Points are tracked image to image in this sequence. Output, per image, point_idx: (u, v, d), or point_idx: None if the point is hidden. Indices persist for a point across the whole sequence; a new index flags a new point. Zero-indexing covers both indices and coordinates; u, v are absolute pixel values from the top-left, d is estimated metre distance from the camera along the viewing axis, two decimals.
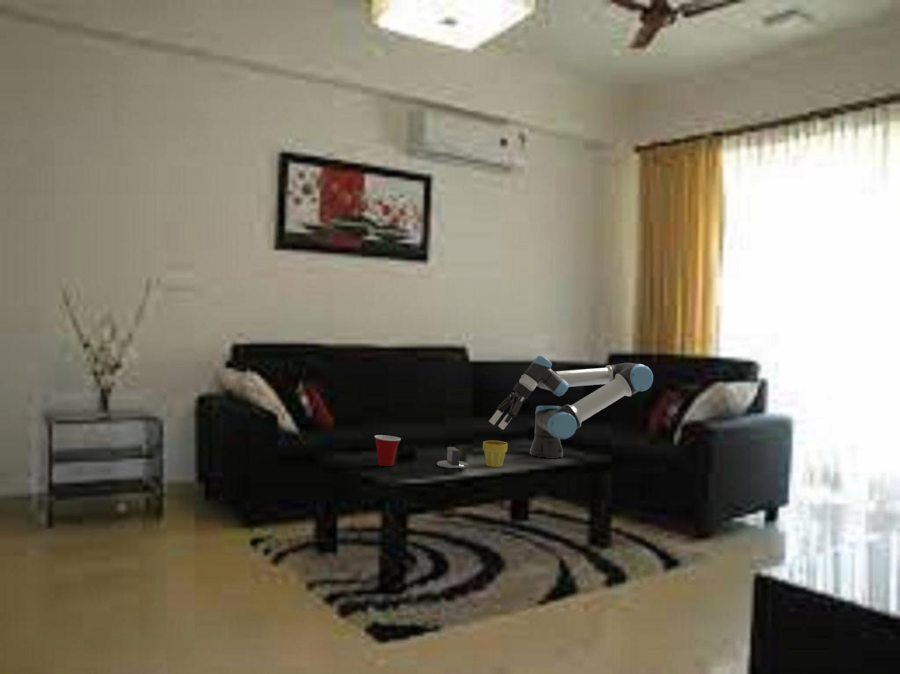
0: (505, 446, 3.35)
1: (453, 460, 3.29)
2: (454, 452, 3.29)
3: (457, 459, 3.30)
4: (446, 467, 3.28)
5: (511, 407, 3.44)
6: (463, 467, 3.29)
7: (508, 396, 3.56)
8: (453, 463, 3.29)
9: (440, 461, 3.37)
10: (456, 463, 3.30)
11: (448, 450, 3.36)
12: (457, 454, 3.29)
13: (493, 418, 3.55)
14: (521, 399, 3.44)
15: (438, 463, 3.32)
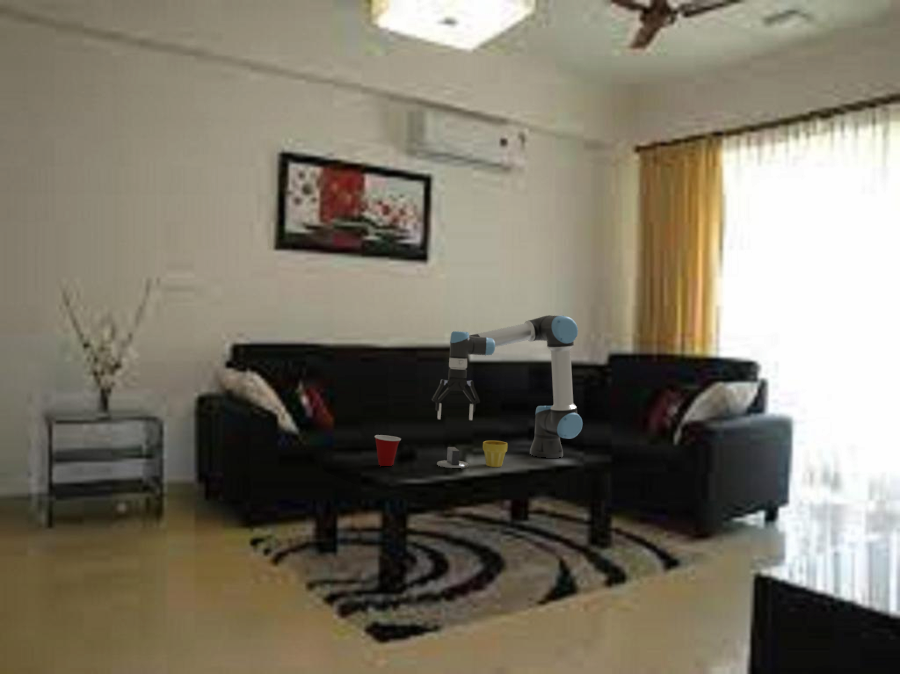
0: (505, 446, 3.35)
1: (453, 460, 3.29)
2: (454, 452, 3.29)
3: (457, 459, 3.30)
4: (446, 467, 3.28)
5: (470, 396, 3.33)
6: (463, 467, 3.29)
7: (442, 385, 3.31)
8: (453, 463, 3.29)
9: (440, 461, 3.37)
10: (456, 463, 3.30)
11: (448, 450, 3.36)
12: (457, 454, 3.29)
13: None
14: None
15: (438, 463, 3.32)
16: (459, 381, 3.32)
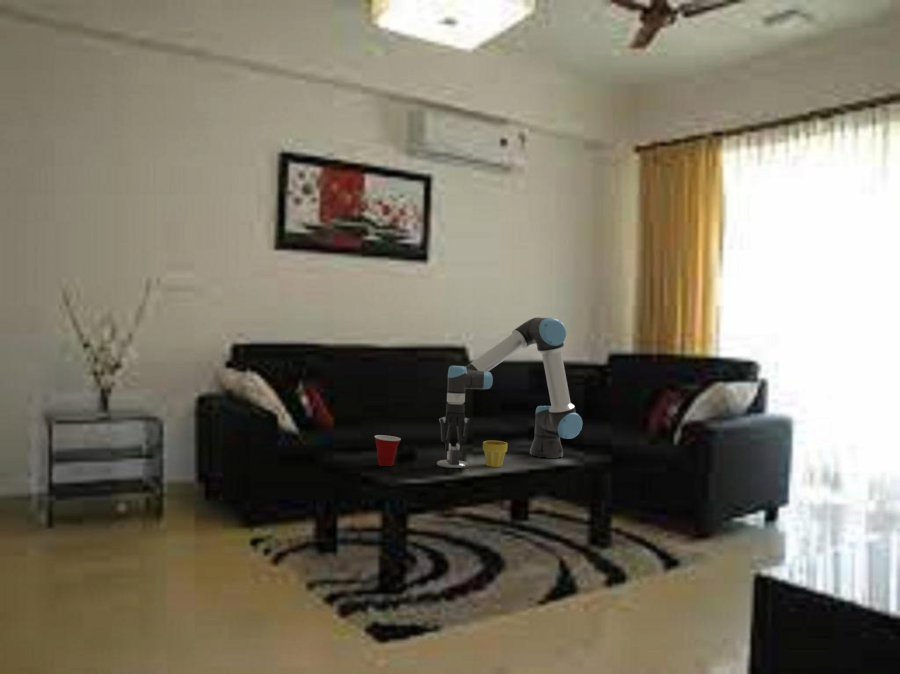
0: (505, 446, 3.35)
1: (453, 459, 3.29)
2: (454, 451, 3.29)
3: (457, 458, 3.30)
4: (446, 466, 3.28)
5: (460, 434, 3.33)
6: (463, 466, 3.29)
7: (442, 424, 3.31)
8: (453, 462, 3.29)
9: (440, 460, 3.36)
10: (456, 462, 3.30)
11: None
12: (457, 453, 3.29)
13: None
14: None
15: (438, 462, 3.32)
16: (458, 413, 3.32)
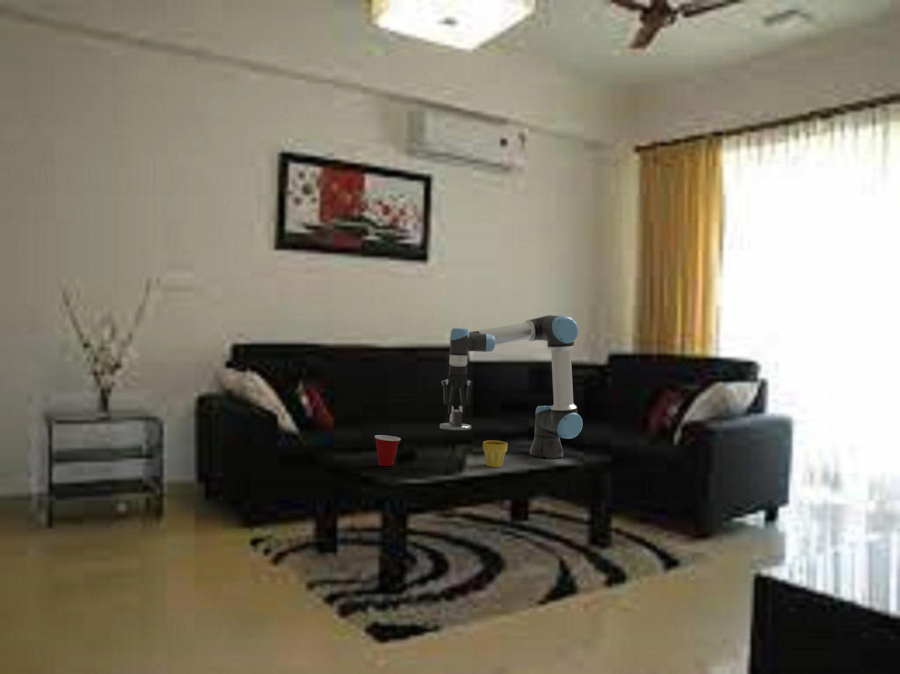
0: (505, 446, 3.35)
1: (456, 421, 3.29)
2: (457, 413, 3.29)
3: (460, 420, 3.29)
4: (449, 428, 3.28)
5: (463, 396, 3.33)
6: (466, 428, 3.29)
7: (445, 386, 3.31)
8: (456, 424, 3.29)
9: (443, 423, 3.36)
10: (459, 424, 3.29)
11: None
12: (460, 415, 3.29)
13: None
14: None
15: (441, 425, 3.32)
16: (461, 375, 3.32)
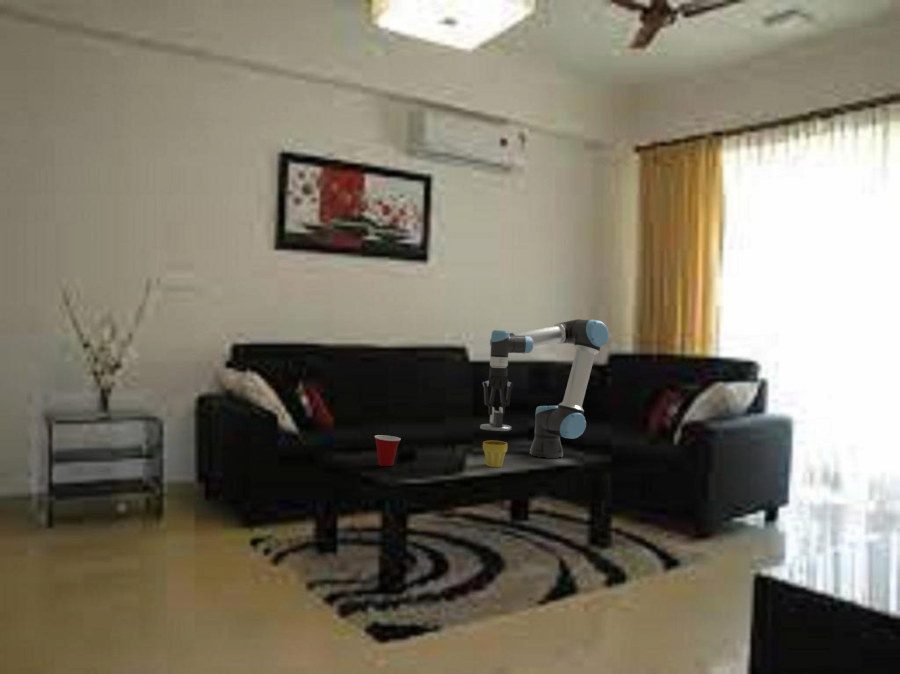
0: (505, 446, 3.35)
1: (497, 422, 3.33)
2: (498, 414, 3.33)
3: (501, 421, 3.33)
4: (490, 429, 3.32)
5: (503, 398, 3.37)
6: (507, 429, 3.33)
7: (486, 387, 3.35)
8: (497, 425, 3.33)
9: (483, 424, 3.40)
10: (500, 425, 3.33)
11: None
12: (501, 416, 3.33)
13: None
14: None
15: (482, 425, 3.36)
16: (502, 377, 3.36)
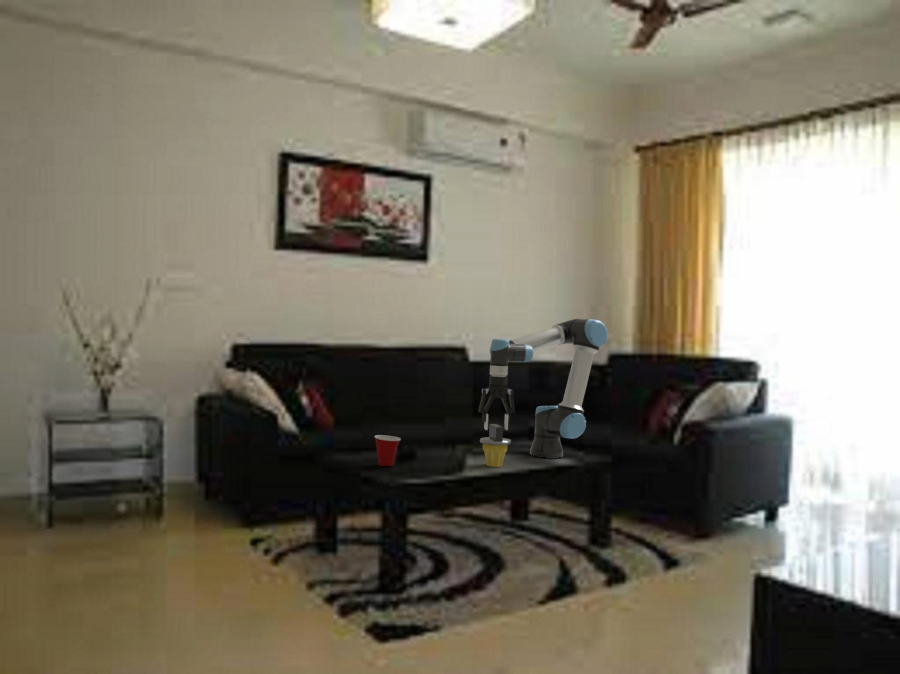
0: (505, 446, 3.35)
1: (497, 436, 3.33)
2: (498, 428, 3.33)
3: (501, 435, 3.33)
4: (490, 443, 3.32)
5: (507, 405, 3.37)
6: (507, 443, 3.33)
7: (484, 395, 3.35)
8: (497, 439, 3.33)
9: (482, 438, 3.40)
10: (500, 439, 3.33)
11: (490, 427, 3.40)
12: (501, 430, 3.33)
13: None
14: None
15: (481, 439, 3.35)
16: (501, 387, 3.36)
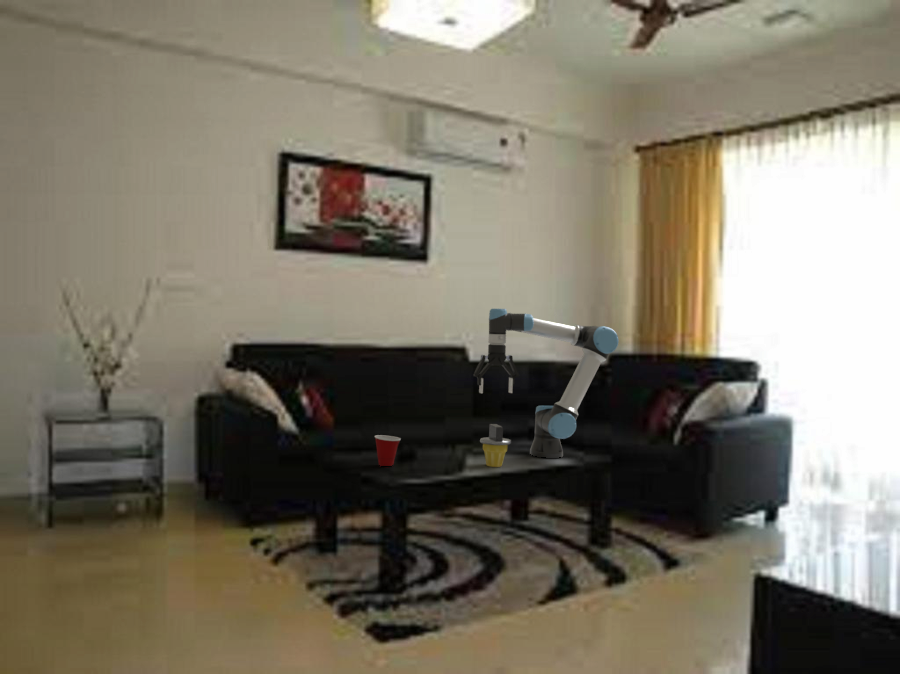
0: (505, 446, 3.35)
1: (497, 436, 3.33)
2: (498, 428, 3.33)
3: (501, 435, 3.34)
4: (490, 443, 3.32)
5: (509, 370, 3.48)
6: (507, 443, 3.33)
7: (483, 360, 3.44)
8: (497, 439, 3.33)
9: (482, 438, 3.40)
10: (500, 439, 3.33)
11: (490, 427, 3.40)
12: (501, 430, 3.33)
13: None
14: None
15: (481, 439, 3.35)
16: (499, 356, 3.47)
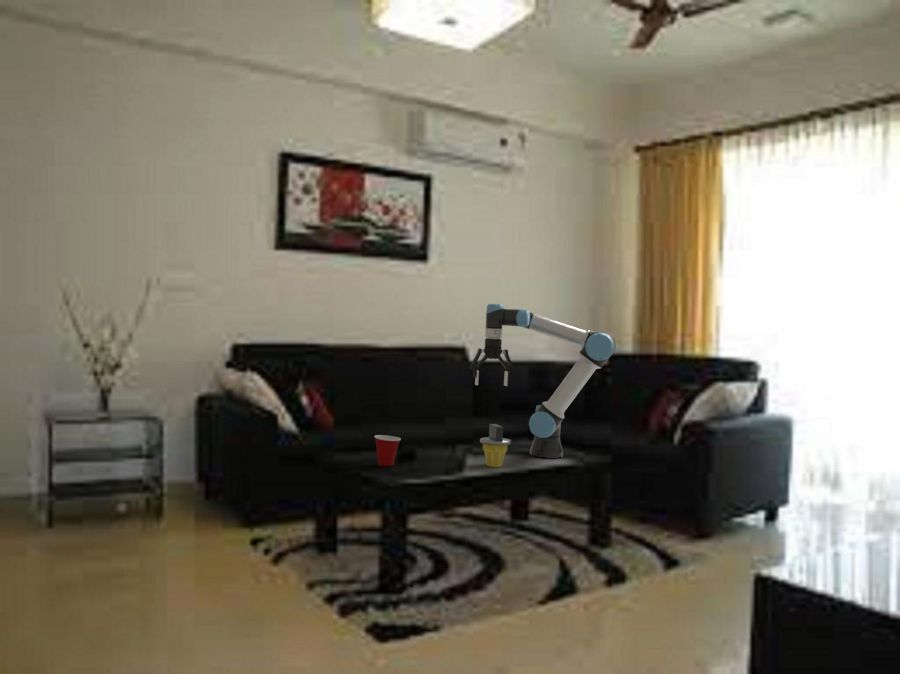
0: (505, 446, 3.35)
1: (497, 436, 3.33)
2: (498, 428, 3.33)
3: (501, 435, 3.34)
4: (490, 443, 3.32)
5: (504, 364, 3.61)
6: (507, 443, 3.33)
7: (479, 353, 3.58)
8: (497, 439, 3.33)
9: (482, 438, 3.40)
10: (500, 439, 3.33)
11: (490, 427, 3.40)
12: (501, 430, 3.33)
13: None
14: None
15: (481, 439, 3.35)
16: (495, 350, 3.60)
